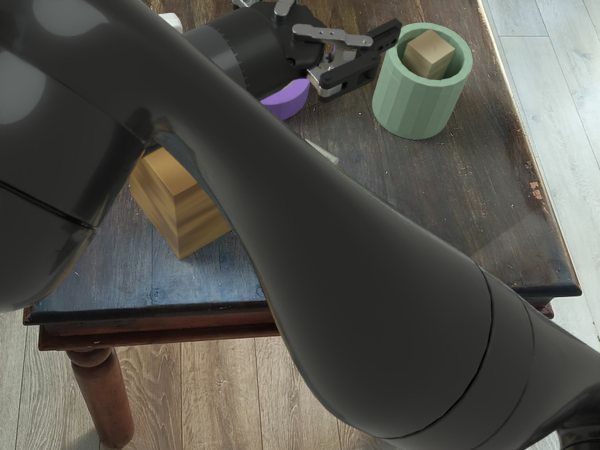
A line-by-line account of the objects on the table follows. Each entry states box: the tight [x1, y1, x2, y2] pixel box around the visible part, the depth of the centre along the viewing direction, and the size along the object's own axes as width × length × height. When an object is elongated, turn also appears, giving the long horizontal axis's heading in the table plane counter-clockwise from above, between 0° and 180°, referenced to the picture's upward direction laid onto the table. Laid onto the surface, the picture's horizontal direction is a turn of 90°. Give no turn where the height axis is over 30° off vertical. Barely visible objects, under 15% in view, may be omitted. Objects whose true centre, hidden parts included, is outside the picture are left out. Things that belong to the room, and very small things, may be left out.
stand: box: [128, 147, 232, 261], centre depth 74 cm, size 10×10×13 cm
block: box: [401, 29, 455, 80], centre depth 86 cm, size 4×4×10 cm
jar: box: [371, 22, 474, 141], centre depth 86 cm, size 10×10×10 cm
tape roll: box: [260, 79, 311, 122], centre depth 88 cm, size 12×12×4 cm
